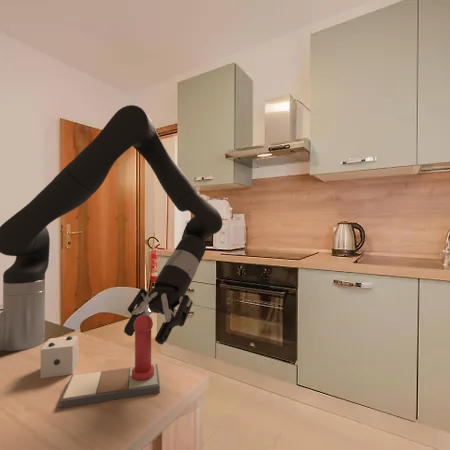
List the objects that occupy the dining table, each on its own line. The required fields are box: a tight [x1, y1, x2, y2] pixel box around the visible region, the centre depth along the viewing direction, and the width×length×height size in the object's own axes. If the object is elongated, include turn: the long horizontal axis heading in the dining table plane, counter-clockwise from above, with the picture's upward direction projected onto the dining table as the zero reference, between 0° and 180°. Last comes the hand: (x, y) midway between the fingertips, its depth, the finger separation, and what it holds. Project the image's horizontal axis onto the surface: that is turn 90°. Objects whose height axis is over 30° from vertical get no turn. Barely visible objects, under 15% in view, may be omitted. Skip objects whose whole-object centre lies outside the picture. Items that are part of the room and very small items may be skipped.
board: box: [59, 363, 161, 409], centre depth 56 cm, size 17×9×1 cm, turn 106°
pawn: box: [132, 315, 154, 381], centre depth 58 cm, size 4×4×12 cm
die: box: [40, 335, 80, 379], centre depth 63 cm, size 6×7×7 cm
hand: (142, 338), depth 58 cm, fingers open, 8 cm apart
